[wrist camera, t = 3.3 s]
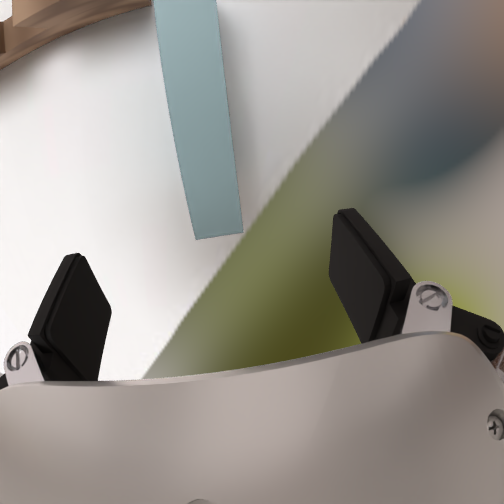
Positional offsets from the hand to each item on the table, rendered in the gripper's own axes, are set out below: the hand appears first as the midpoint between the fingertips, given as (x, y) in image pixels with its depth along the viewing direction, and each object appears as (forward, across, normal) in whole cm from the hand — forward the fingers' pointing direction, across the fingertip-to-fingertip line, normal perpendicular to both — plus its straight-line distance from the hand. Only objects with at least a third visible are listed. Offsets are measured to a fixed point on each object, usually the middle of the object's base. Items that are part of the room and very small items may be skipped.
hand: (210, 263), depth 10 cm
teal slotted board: (+16, 0, -5) cm, 17 cm away
